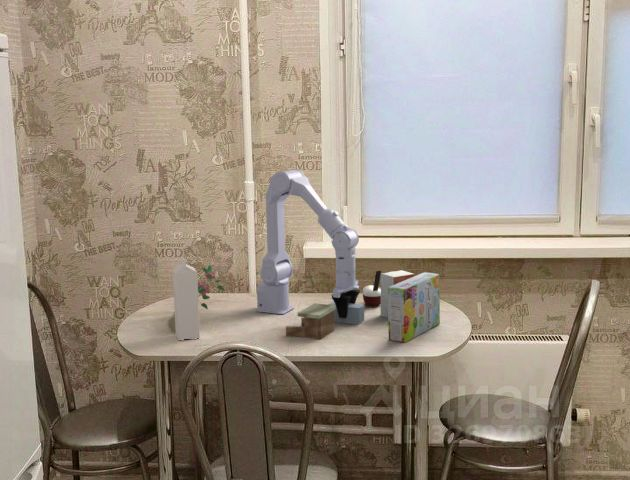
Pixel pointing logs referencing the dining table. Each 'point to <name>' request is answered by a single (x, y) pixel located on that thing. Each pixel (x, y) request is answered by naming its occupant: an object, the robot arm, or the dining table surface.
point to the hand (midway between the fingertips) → (345, 315)
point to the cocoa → (373, 292)
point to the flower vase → (199, 293)
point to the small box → (388, 281)
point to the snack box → (413, 307)
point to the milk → (186, 302)
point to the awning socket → (314, 322)
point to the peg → (351, 314)
